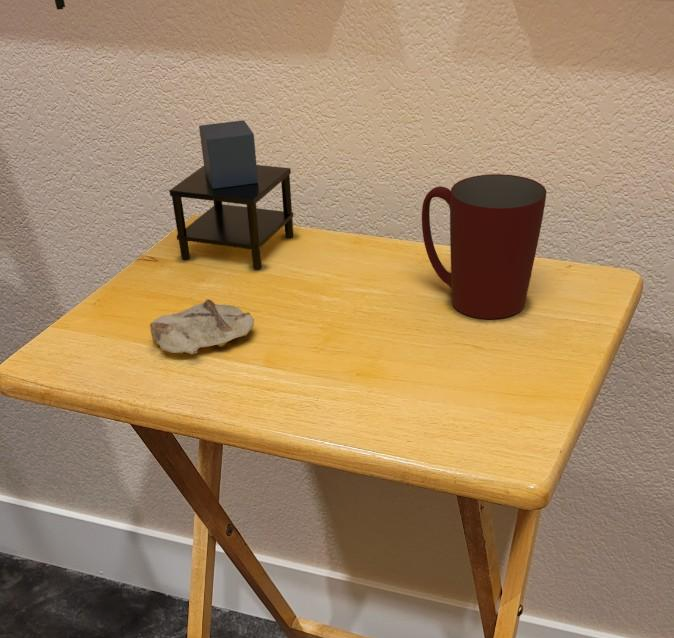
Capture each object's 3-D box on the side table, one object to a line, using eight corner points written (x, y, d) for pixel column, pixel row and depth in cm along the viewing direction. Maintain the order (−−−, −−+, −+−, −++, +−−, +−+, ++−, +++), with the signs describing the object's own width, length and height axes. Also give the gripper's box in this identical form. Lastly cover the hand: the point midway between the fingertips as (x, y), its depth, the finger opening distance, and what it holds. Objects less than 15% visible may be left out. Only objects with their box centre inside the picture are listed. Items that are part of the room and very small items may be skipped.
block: (213, 189, 95) (206, 139, 91) (205, 174, 98) (198, 125, 95) (258, 183, 96) (253, 133, 92) (248, 168, 99) (244, 119, 96)
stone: (231, 312, 90) (227, 287, 88) (264, 340, 86) (262, 314, 84) (144, 338, 87) (139, 313, 85) (174, 369, 82) (169, 343, 80)
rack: (259, 270, 97) (253, 199, 92) (180, 259, 100) (169, 190, 95) (294, 236, 104) (290, 168, 99) (219, 226, 107) (211, 160, 101)
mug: (402, 306, 90) (404, 194, 82) (437, 272, 96) (443, 165, 88) (513, 330, 86) (527, 214, 78) (544, 293, 91) (559, 181, 84)
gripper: (179, -284, 68) (209, -16, 80) (-54, -276, 65) (13, 2, 76) (195, -288, 62) (224, 0, 74) (-58, -279, 59) (14, 19, 71)
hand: (117, 1), depth 75 cm, fingers open, 9 cm apart
